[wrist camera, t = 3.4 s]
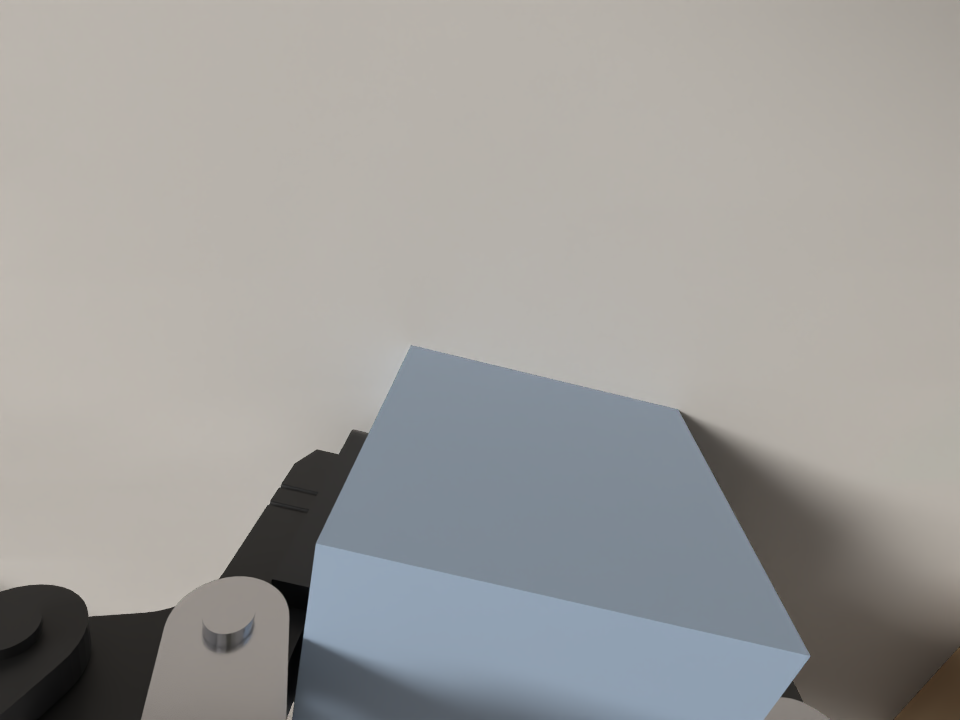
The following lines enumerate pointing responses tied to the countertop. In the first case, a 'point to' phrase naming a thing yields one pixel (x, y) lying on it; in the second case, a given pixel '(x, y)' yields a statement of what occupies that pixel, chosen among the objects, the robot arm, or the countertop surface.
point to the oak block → (937, 695)
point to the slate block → (535, 564)
